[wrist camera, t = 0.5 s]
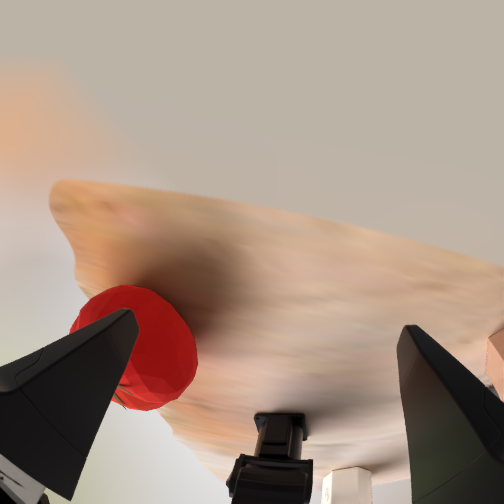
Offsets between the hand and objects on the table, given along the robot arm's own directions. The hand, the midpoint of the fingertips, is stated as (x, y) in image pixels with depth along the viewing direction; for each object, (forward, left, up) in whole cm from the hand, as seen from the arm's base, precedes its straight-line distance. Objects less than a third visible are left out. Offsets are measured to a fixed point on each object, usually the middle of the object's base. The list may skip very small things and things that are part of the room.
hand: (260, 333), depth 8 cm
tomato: (-9, +16, -15) cm, 24 cm away
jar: (-47, -6, -15) cm, 50 cm away
